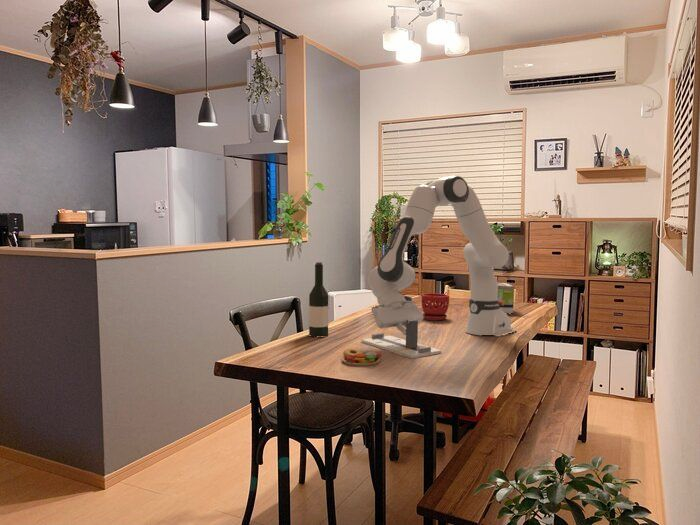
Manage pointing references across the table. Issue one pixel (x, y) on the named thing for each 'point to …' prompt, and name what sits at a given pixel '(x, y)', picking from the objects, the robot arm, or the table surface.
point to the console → (399, 346)
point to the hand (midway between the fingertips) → (408, 334)
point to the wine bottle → (318, 305)
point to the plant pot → (435, 306)
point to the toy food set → (360, 357)
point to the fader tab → (411, 333)
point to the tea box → (506, 297)
